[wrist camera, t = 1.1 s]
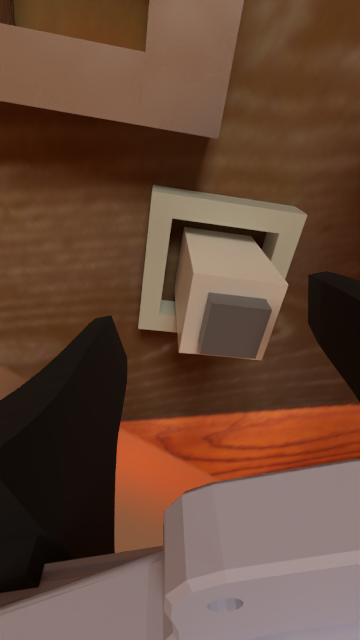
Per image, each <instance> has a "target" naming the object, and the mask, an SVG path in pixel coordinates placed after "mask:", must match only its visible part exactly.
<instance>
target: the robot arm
mask: <svg viewBox="0 0 360 640" xmlns="http://www.w3.org/2000/svg"><path fill="white" fill-rule="evenodd" d="M308 324H309V326H310V328H311V330H312V332H313V334H314V336H315V338H316V340H317V342H318V344H319V345H320V347H321V348H322V350H323V351H324V352H325V354H326V355H327V357H328V358H329V359H330V361H331V362H332V364H333V365H334V366H335V368H336V369H337V370H338V372H339V373H340V374H341V376H342V377H343V379H344V380H345V381H346V383H347V384H348V385H349V387H350V388H351V390H352V391H353V392H354V394H355V395H356V397H357V399H358V400H359V402H360V281H357V280H354V279H351V278H348V277H345V276H342V275H339V274H335V273H331V272H321V273H316V274H311V275H309V280H308ZM126 384H127V356H126V354H125V351H124V348H123V346H122V343H121V340H120V338H119V335H118V332H117V330H116V327H115V324H114V322H113V319H112V316H106V317H101V318H96V319H94V320H93V321H92V322H91V323H90V324H89V325H88V326H87V327H86V328H85V329H84V330H83V331H82V332H81V333H80V334H79V335H78V336H77V337H76V338H75V339H74V340H73V341H72V342H71V343H70V344H69V345H68V346H67V347H66V348H65V349H64V350H63V351H62V352H61V353H60V354H59V355H57V356H56V357H55V358H54V359H53V360H52V361H51V362H50V363H49V364H48V365H47V366H46V367H44V368H43V369H42V370H41V371H40V372H39V373H37V374H36V375H35V376H34V377H32V378H31V379H30V380H29V381H27V382H26V383H25V384H23V385H22V386H21V387H20V388H18V389H17V390H15V391H14V392H12V393H11V394H9V395H8V396H6V397H5V398H3V399H2V400H0V640H360V459H350V460H344V461H338V462H332V463H326V464H320V465H314V466H308V467H302V468H296V469H290V470H284V471H278V472H272V473H266V474H260V475H254V476H248V477H242V478H236V479H230V480H224V481H218V482H213V483H209V484H206V485H203V486H200V487H197V488H194V489H191V490H188V491H186V492H184V493H183V494H182V495H181V496H180V497H179V498H178V499H177V500H176V501H175V502H173V503H172V504H171V505H170V506H169V507H168V508H167V509H166V510H165V511H164V526H163V531H164V532H163V537H164V538H163V543H164V544H163V546H158V547H152V548H146V549H139V550H133V551H126V552H120V553H115V550H114V507H115V505H114V504H115V500H114V499H115V471H116V470H115V469H116V452H117V439H118V432H119V426H120V420H121V414H122V409H123V403H124V397H125V390H126Z"/></svg>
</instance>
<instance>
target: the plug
mask: <svg viewBox="0 0 360 640" xmlns="http://www.w3.org/2000/svg"><path fill="white" fill-rule="evenodd" d="M287 288H288V283H287V282H286V281H285V280H284V278H283V277H282V276H281V274H280V273H279V272H278V270H277V269H276V268H275V267H274V265H273V264H272V263H271V261H270V260H269V259H268V258H267V256H266V255H265V254H264V252H263V251H262V250H261V248H260V247H259V246H258V245H257V243H256V242H255V241H254V239H253V238H252V237H251V236H247V235H240V234H233V233H225V232H218V231H211V230H204V229H197V228H190V227H184V230H183V236H182V243H181V249H180V255H179V262H178V268H177V274H176V281H175V287H174V293H175V307H176V321H177V334H178V348H179V353H188V354H199V355H210V356H221V357H232V358H242V359H253V360H262V358H263V355H264V352H265V349H266V347H267V344H268V341H269V338H270V335H271V333H272V330H273V327H274V324H275V321H276V319H277V316H278V313H279V310H280V307H281V305H282V302H283V299H284V296H285V293H286V290H287Z"/></svg>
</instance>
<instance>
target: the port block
mask: <svg viewBox="0 0 360 640" xmlns="http://www.w3.org/2000/svg"><path fill="white" fill-rule="evenodd" d="M243 3H244V0H149V11H148V24H147V38H146V51H145V52H142V51H137V50H132V49H127V48H122V47H117V46H112V45H107V44H102V43H97V42H92V41H87V40H82V39H77V38H72V37H67V36H62V35H57V34H52V33H47V32H42V31H37V30H32V29H27V28H22V27H17V26H15V25H14V13H13V1H12V0H0V101H4V102H10V103H15V104H21V105H27V106H33V107H38V108H44V109H50V110H55V111H61V112H67V113H73V114H78V115H84V116H90V117H96V118H101V119H107V120H113V121H119V122H124V123H130V124H136V125H142V126H147V127H153V128H159V129H164V130H170V131H176V132H182V133H187V134H193V135H199V136H205V137H210V138H216V139H218V138H219V132H220V127H221V121H222V116H223V111H224V105H225V100H226V95H227V89H228V84H229V78H230V73H231V68H232V62H233V57H234V51H235V46H236V41H237V35H238V30H239V25H240V19H241V14H242V8H243Z"/></svg>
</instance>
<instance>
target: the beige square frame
mask: <svg viewBox="0 0 360 640" xmlns="http://www.w3.org/2000/svg"><path fill="white" fill-rule="evenodd" d="M306 217H307V214H306V213H304V212H302V211H301V210H299V209H298V208H296V207H295V206H289V205H282V204H276V203H269V202H263V201H256V200H250V199H243V198H237V197H230V196H224V195H217V194H211V193H204V192H198V191H191V190H185V189H178V188H171V187H165V186H158V185H153V188H152V197H151V207H150V217H149V227H148V237H147V247H146V257H145V266H144V276H143V286H142V296H141V306H140V316H139V326H138V329H147V330H157V331H167V332H177V321H176V307H175V301H167V300H161V297H162V289H163V282H164V275H165V267H166V260H167V253H168V245H169V238H170V231H171V223H172V218H173V219H180V220H187V221H195V222H202V223H209V224H216V225H223V226H230V227H237V228H244V229H251V230H258V231H265V232H267V233H266V237H265V240H264V243H263V247H262V251H263V252H264V254H265V255H266V256H267V258H268V259H269V260H270V261H271V263H272V264H273V265H274V267H275V268H276V269H277V270H278V272H279V273H280V274H281V276H282V277H283V278H284V280H285V278H286V275H287V272H288V269H289V266H290V263H291V261H292V258H293V255H294V252H295V249H296V246H297V243H298V240H299V238H300V235H301V232H302V229H303V226H304V223H305V220H306Z"/></svg>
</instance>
